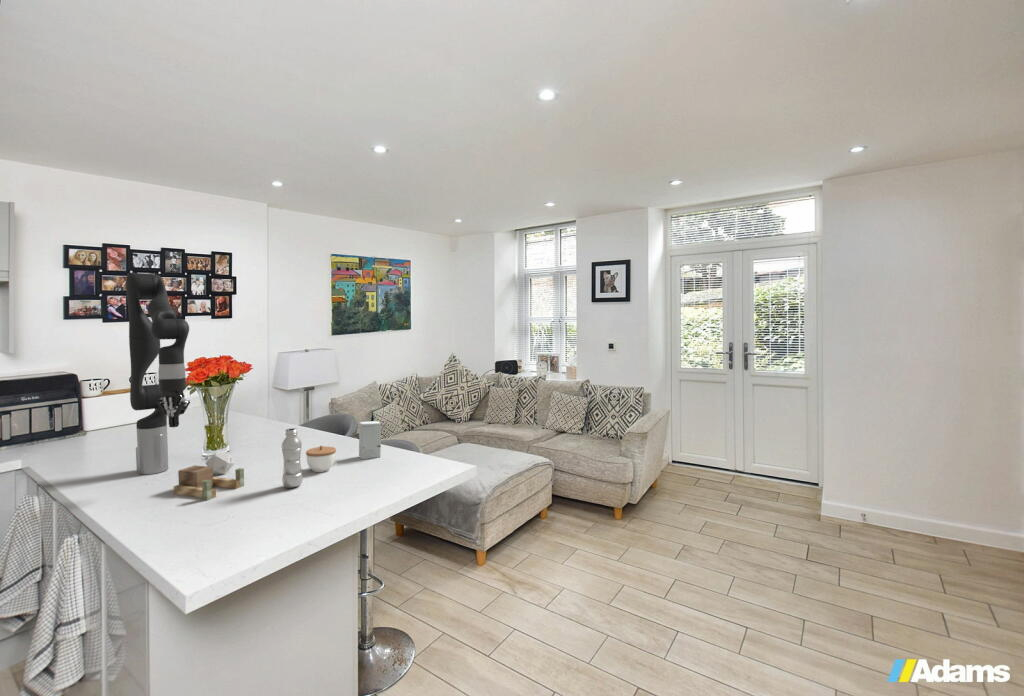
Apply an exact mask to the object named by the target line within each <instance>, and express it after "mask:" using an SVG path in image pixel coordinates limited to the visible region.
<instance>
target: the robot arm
mask: <svg viewBox="0 0 1024 696" xmlns="http://www.w3.org/2000/svg"><path fill="white" fill-rule="evenodd" d="M125 292H126V300H127V302H126V303H127V309H128V344H129V357H130V386H129V387H130V390H129V394H130V395H129V399H130V400H129V401H130V406H131V409H133V410H134V411H146V410H147V411H148V410H153V412H151V413H150V414H149V415H146V416H145V417H142V418H140V419H138V420H137V421H136V423H135V424H136V442H137V443H136V444H137V446H136V448H135V462H136V463H135V464H136V473H138V474H139V475H153V474H158V473H162V472H166V471H168V469H169V450H168V449H169V444H168V426H169V428H177V427H179V426H180V419H179V418H180V416H182V415H184V414H185V413H186V411H187V410H188V407H189V406H190V404H191V400H190V399H186V398H185V393H184V391H185V390H186V389H187V384H186V382H187V381H186V379H187V378H186V367H185V347H186V342H187V339H188V336H189V334H190V325H189V322H187V321H186V320H185V319H183V318H177V314H176V312H175V311H174V309H173V306H172V305H171V303H170V300H169V295H168V292H167V288H166V284H165V282H164V279H163V278H162V276H161V275H159V274H155V273H143V272H142V273H139V272H138V273H137V272H129V273H128V274H127V275H126V277H125ZM140 299H151V300H150V301H149V303H148V305H147V312H148V315H149V317H150V318H149V317H148V315H147V314H146V313H145V311H144V309H143V308H142V305H141V302H140ZM161 340H175V341H174V343H173V344H170V345H167V346H162V347H161ZM157 357H158V370H157V371H158V373H157V374H158V383H157V384H156V383H155V384H145V385H143V382H144V377H145V376H146V373H147V371H148V369H149V368H150V366H152V364H153V363H154V361H155V360H156V358H157ZM167 425H168V426H167Z"/></svg>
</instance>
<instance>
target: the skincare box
mask: <svg viewBox="0 0 1024 696" xmlns="http://www.w3.org/2000/svg"><path fill="white" fill-rule="evenodd" d="M358 425H359V426H358V428H359V430H358V440H359V441H358V456H359V457H360V458H359V459H361V460H366V459H374V458H381V457H382V456H381V449H382V446H381V445H382V444H381V441H382V438H381V437H382V423H381V422H380V421H378V420H376V421H375V420H373V421H359V422H358Z"/></svg>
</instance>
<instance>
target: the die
mask: <svg viewBox="0 0 1024 696" xmlns="http://www.w3.org/2000/svg"><path fill="white" fill-rule="evenodd" d="M205 464H206V467H213V475H226V474H227V473H228V472H229V471H230V470H231V469H232V468H233V467H234V465H235V464H236V463H235V461H234V459H233V457H232V455H231V453H230V452H228V451H220V452H218V451H217V452H216V451H215V452H214V453H213V454H212V455H211V456H210V458H208V460H206V461H205Z"/></svg>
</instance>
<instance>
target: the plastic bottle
mask: <svg viewBox="0 0 1024 696" xmlns="http://www.w3.org/2000/svg"><path fill="white" fill-rule="evenodd" d="M297 435H298V428H296V427H295V428H294V427H293V428H292V427H291V428H287V429H285V436H286V437H285V438H284V439H283V441H282V442H281V451H282V457H283V473H282V479H281V480H282V485H283V487H284V488H288V489H289V488H291V489H292V488H297V487H300V486H301V485H302V483H303V472H302V466H301V457H302V456H301V453H302V445H303V444H302V440H301V439H300V438H299V437H298V436H297Z"/></svg>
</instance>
